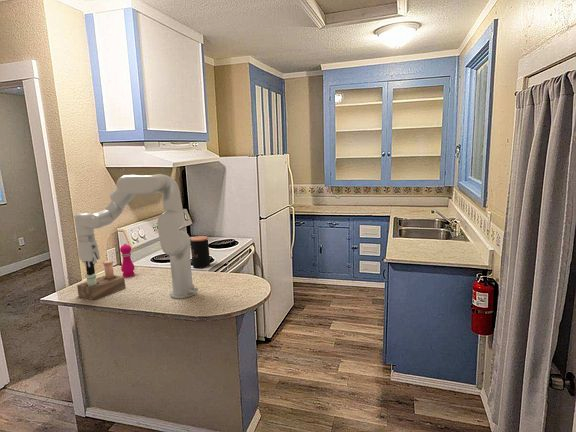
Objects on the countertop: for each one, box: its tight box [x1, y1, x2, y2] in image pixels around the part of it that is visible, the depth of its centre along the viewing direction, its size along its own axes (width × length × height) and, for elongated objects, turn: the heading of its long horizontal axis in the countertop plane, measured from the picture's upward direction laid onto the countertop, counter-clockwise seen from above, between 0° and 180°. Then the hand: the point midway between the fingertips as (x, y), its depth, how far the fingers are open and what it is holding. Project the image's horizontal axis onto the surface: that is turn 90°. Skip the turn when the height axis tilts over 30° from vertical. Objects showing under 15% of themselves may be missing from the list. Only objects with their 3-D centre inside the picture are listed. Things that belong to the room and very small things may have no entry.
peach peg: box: [102, 259, 114, 280], centre depth 192 cm, size 5×5×10 cm
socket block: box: [76, 275, 126, 301], centre depth 189 cm, size 12×18×6 cm, turn 152°
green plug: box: [84, 272, 97, 286], centre depth 184 cm, size 5×5×10 cm
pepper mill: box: [119, 241, 136, 278], centre depth 213 cm, size 7×7×20 cm
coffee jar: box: [190, 235, 211, 269], centre depth 226 cm, size 11×11×18 cm
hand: (91, 274), depth 183 cm, fingers closed
